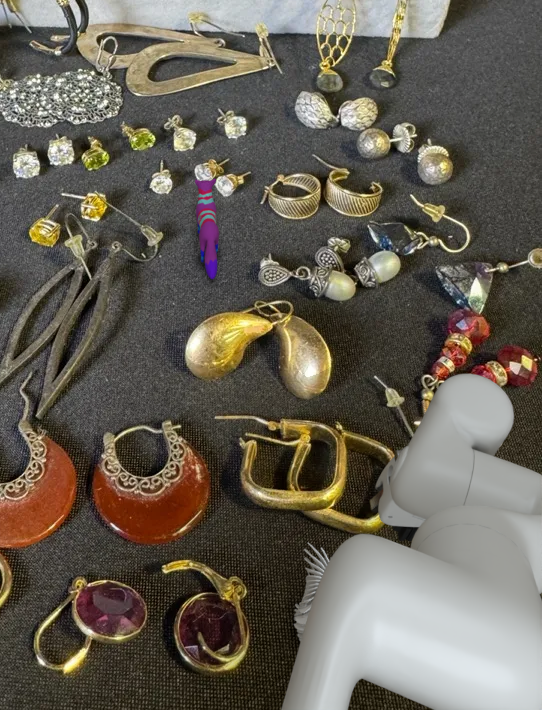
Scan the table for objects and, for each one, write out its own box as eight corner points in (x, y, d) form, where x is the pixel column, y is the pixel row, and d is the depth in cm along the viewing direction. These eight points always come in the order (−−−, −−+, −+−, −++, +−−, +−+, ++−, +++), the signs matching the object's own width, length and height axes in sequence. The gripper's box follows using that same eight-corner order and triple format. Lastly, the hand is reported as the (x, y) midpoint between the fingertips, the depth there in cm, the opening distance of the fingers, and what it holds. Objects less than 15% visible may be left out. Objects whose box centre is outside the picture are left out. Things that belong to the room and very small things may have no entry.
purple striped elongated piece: (211, 208, 150) (214, 168, 142) (222, 284, 138) (226, 245, 130) (191, 209, 150) (193, 169, 142) (201, 285, 138) (203, 247, 130)
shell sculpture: (352, 661, 100) (382, 617, 86) (285, 656, 100) (305, 611, 86) (346, 591, 105) (374, 540, 92) (283, 587, 105) (301, 535, 92)
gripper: (378, 491, 84) (346, 557, 97) (522, 496, 83) (470, 562, 97) (368, 426, 89) (339, 497, 102) (504, 431, 88) (457, 502, 102)
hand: (403, 529), depth 100 cm, fingers closed
